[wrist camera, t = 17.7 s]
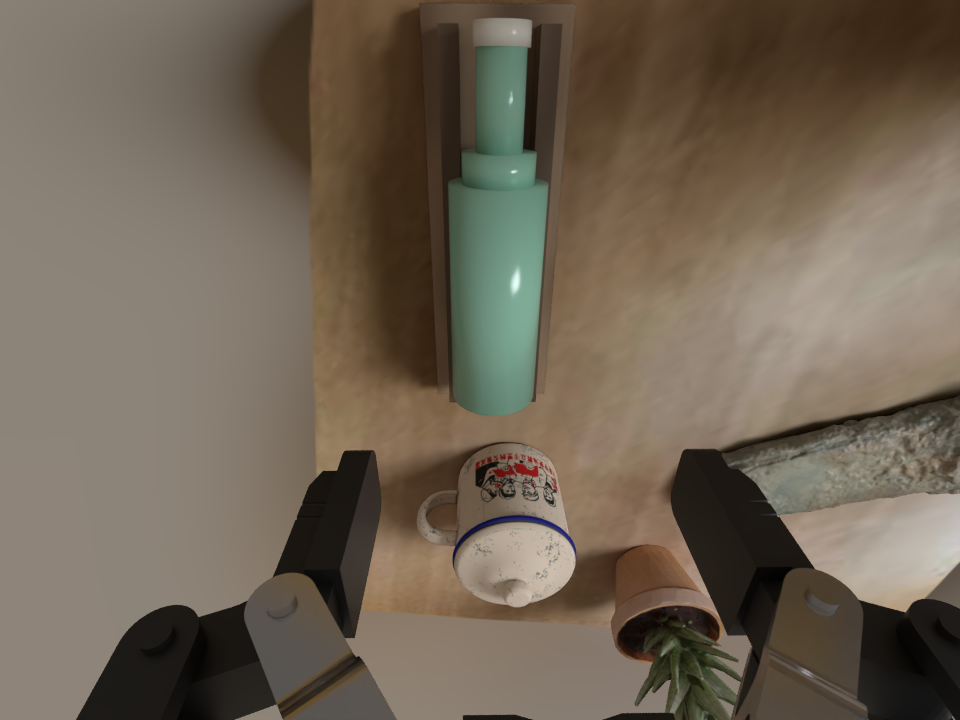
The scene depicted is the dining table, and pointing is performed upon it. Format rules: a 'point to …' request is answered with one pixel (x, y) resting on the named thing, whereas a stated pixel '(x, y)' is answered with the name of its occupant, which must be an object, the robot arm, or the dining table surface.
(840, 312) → the dining table surface
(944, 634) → the robot arm
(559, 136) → the cradle
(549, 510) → the teacup with lid
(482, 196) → the bottle
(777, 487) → the elongated rock
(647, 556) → the potted plant
